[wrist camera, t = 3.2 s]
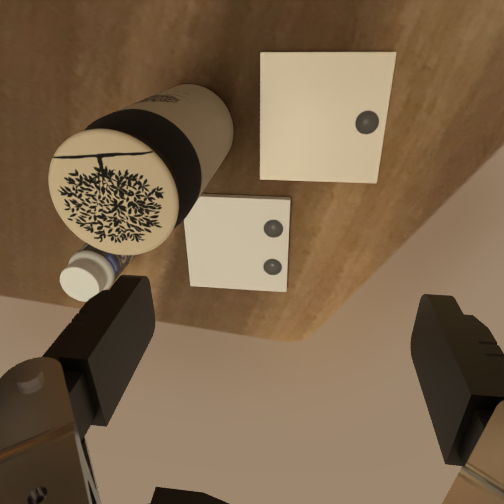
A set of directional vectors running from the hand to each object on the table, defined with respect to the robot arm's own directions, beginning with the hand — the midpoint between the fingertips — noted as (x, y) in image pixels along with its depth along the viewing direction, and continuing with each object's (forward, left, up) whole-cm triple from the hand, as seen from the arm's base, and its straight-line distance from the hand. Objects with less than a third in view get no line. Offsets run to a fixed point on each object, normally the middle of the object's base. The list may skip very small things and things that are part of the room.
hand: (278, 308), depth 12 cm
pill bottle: (+14, -20, -28) cm, 37 cm away
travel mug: (+1, -10, -28) cm, 30 cm away
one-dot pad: (0, +2, -28) cm, 28 cm away
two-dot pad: (+13, -6, -28) cm, 31 cm away
